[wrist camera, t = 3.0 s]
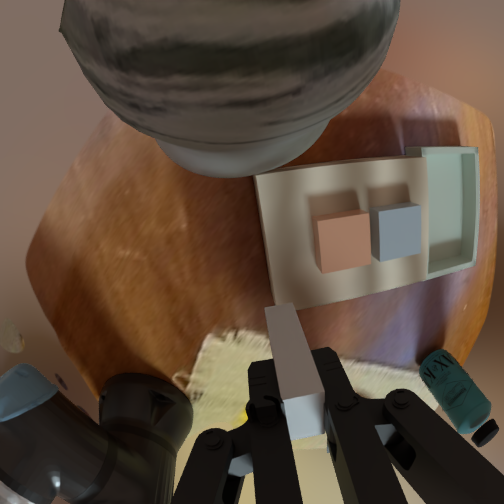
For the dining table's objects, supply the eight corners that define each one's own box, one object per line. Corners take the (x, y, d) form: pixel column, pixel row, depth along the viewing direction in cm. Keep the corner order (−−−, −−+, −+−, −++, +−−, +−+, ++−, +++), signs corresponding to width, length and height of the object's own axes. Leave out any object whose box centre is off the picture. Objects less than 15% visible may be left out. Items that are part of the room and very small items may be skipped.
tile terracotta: (316, 266, 29) (322, 274, 27) (311, 216, 27) (317, 221, 25) (362, 257, 29) (370, 264, 27) (360, 208, 27) (369, 213, 25)
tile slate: (371, 255, 29) (379, 262, 27) (369, 207, 27) (378, 211, 25) (410, 247, 29) (420, 253, 27) (410, 201, 27) (421, 205, 25)
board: (271, 292, 35) (277, 314, 30) (252, 172, 30) (255, 175, 26) (405, 264, 35) (426, 279, 30) (402, 155, 31) (426, 157, 26)
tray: (408, 270, 35) (422, 281, 32) (404, 146, 30) (421, 147, 27) (460, 257, 35) (475, 265, 32) (461, 145, 30) (477, 147, 27)
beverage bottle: (449, 345, 41) (514, 418, 22) (429, 375, 43) (484, 451, 24) (427, 340, 40) (497, 422, 21) (406, 372, 42) (463, 458, 23)
